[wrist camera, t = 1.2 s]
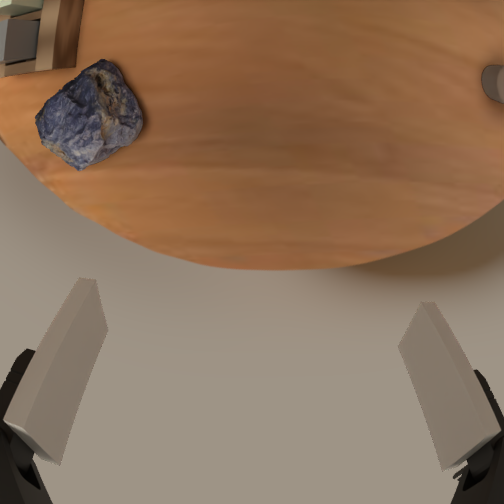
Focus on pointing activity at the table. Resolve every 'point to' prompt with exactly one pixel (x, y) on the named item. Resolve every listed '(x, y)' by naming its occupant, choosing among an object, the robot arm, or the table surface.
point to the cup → (494, 82)
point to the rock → (90, 117)
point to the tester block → (50, 37)
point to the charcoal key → (18, 40)
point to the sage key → (20, 7)
